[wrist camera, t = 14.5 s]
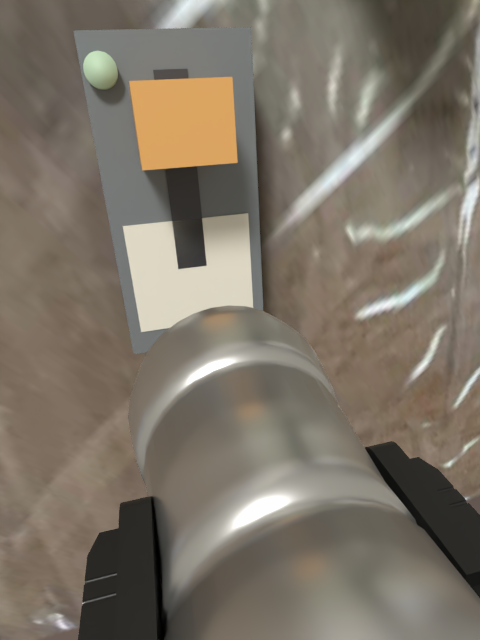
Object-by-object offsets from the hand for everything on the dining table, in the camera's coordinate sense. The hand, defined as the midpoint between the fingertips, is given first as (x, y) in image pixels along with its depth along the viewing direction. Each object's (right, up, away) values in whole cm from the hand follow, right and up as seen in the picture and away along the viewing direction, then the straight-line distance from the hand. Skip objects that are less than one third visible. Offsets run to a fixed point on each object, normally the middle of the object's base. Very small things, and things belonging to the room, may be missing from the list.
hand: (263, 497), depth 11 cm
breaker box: (-5, +14, +22) cm, 26 cm away
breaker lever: (-4, +16, +15) cm, 22 cm away
